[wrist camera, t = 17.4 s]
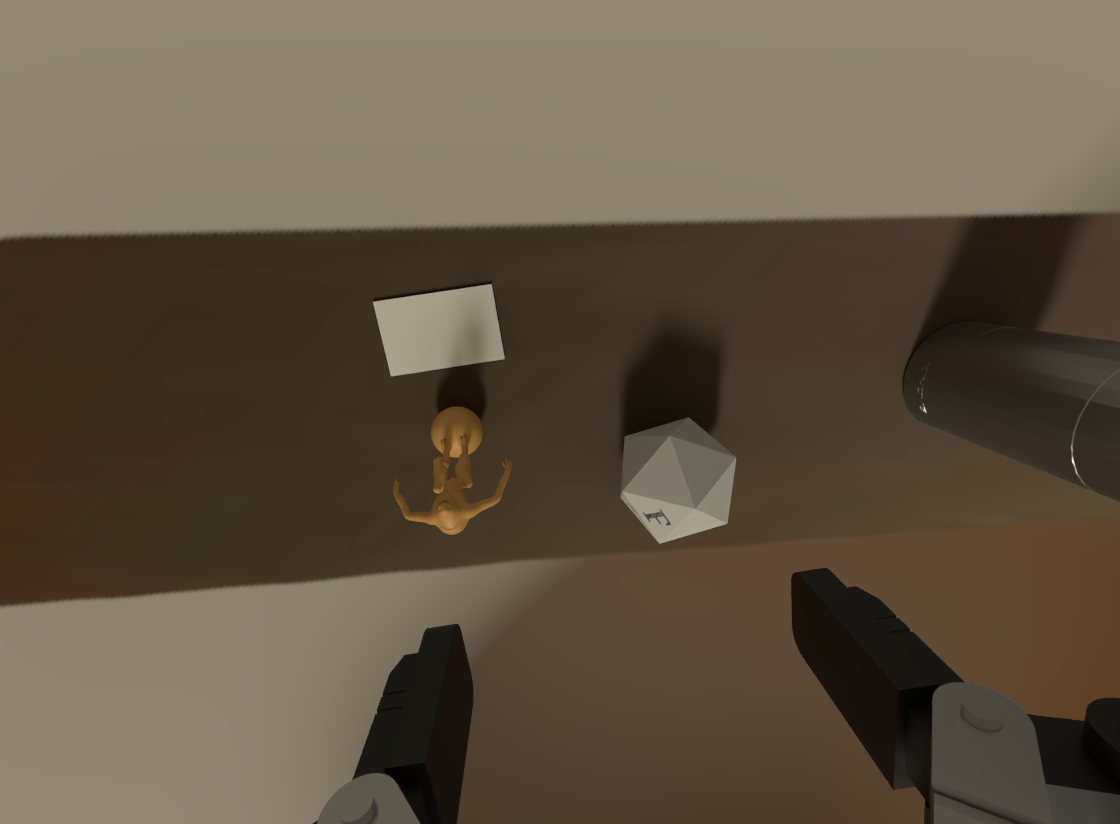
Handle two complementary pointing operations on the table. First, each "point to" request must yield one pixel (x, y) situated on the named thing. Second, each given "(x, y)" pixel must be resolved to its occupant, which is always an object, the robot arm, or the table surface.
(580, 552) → the table surface
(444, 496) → the figurine
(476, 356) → the grey mat
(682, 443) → the die
